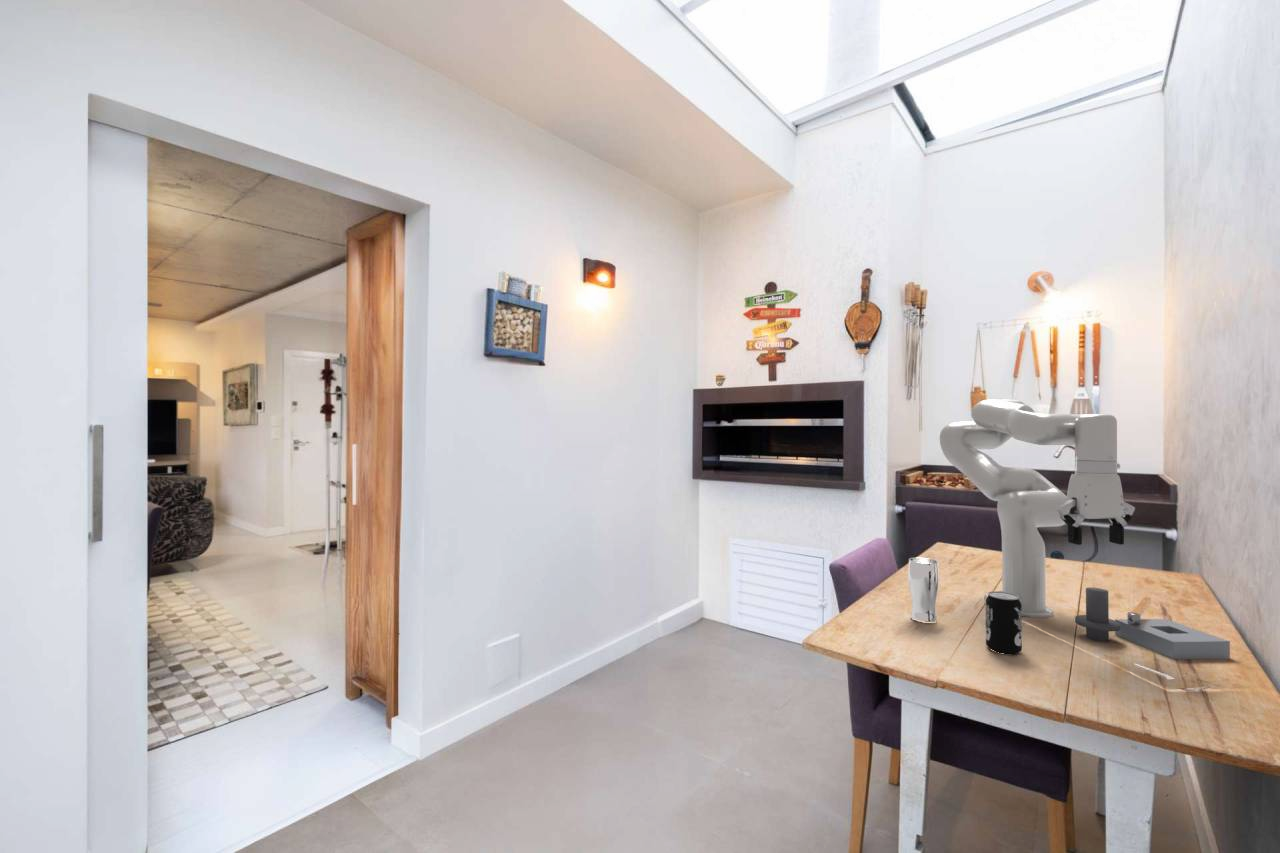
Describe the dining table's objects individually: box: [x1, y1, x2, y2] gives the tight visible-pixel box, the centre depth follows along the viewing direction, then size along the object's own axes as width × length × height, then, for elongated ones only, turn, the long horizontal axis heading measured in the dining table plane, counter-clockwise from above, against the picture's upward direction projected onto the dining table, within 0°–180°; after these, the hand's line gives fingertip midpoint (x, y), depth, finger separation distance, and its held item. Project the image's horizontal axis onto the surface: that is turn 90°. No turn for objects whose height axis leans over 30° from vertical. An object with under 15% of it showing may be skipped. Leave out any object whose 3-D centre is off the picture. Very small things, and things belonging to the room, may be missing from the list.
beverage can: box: [985, 590, 1023, 656], centre depth 124 cm, size 7×7×12 cm
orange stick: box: [1126, 596, 1152, 625], centre depth 134 cm, size 20×2×2 cm, turn 131°
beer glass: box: [907, 557, 940, 622], centre depth 144 cm, size 7×7×15 cm
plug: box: [1074, 587, 1120, 643], centre depth 130 cm, size 8×8×12 cm
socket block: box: [1114, 618, 1231, 660], centre depth 125 cm, size 12×14×4 cm
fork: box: [1134, 663, 1211, 691], centre depth 113 cm, size 3×20×2 cm, turn 7°
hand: (1095, 543), depth 130 cm, fingers open, 9 cm apart
